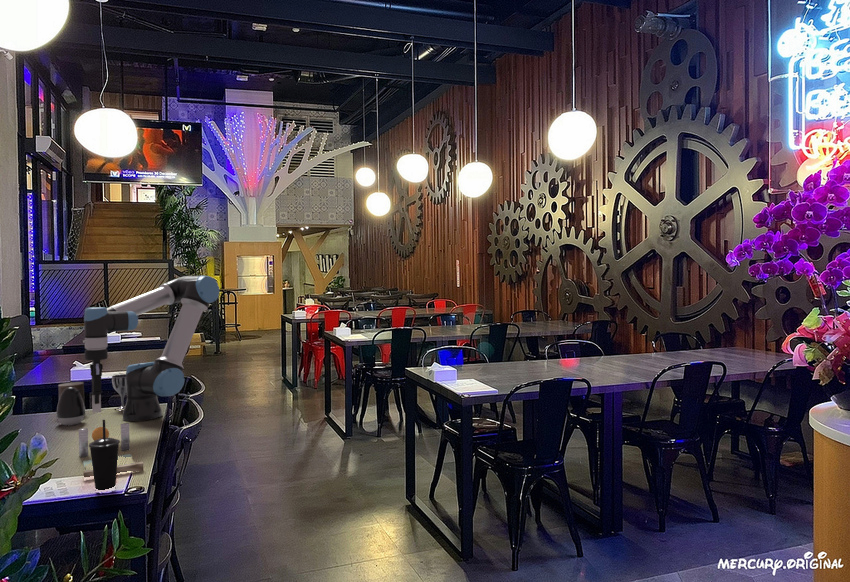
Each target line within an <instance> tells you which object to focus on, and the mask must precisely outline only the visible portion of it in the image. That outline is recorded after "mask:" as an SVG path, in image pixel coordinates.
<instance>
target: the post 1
mask: <svg viewBox="0 0 850 582" xmlns="http://www.w3.org/2000/svg"><path fill="white" fill-rule="evenodd" d="M88 432H89V430H88V428H87V427H85V428H84V427H83V428H79V429H78V445H79V446H78V450H79V451H78V455H79V458H85V457H88V456H89V433H88Z"/></svg>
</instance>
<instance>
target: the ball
mask: <svg viewBox="0 0 850 582" xmlns="http://www.w3.org/2000/svg"><path fill="white" fill-rule="evenodd" d="M105 431H106V438H110V437H109V436H110V431H109V429H108V428H107V427H105ZM91 437H92V439H93V442H94V441H95V440H98V439H101V438H103V426H98V427H96V428H95V429H94V430H93V431H92V433H91Z"/></svg>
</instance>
